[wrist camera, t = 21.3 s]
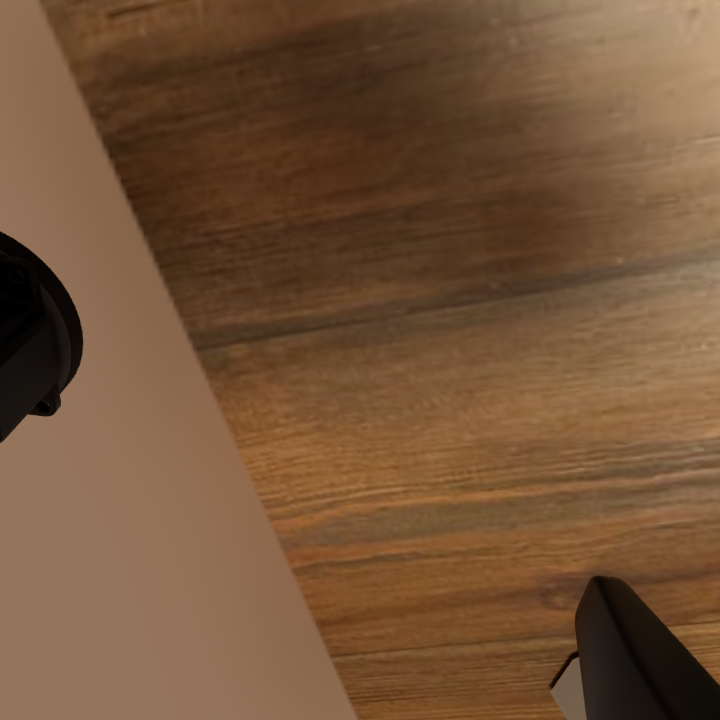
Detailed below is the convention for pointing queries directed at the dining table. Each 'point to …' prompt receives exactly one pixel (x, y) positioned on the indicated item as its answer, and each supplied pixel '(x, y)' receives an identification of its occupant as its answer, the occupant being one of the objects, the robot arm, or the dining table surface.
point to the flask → (570, 692)
